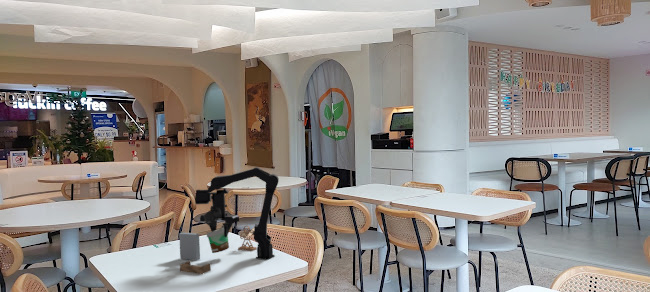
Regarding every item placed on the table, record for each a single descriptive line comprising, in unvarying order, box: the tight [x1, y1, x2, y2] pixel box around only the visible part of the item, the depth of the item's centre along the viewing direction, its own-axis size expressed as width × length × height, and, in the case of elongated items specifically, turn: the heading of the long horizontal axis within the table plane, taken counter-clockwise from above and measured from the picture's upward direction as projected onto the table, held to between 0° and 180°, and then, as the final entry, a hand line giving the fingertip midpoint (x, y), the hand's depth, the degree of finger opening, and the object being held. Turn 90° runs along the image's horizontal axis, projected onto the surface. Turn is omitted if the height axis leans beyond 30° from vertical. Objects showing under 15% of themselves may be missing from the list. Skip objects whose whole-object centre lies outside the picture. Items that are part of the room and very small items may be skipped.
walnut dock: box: [179, 260, 212, 275], centre depth 198 cm, size 12×6×3 cm, turn 65°
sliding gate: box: [178, 232, 201, 261], centre depth 217 cm, size 10×2×12 cm, turn 65°
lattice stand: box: [238, 225, 257, 252], centre depth 232 cm, size 9×4×12 cm, turn 64°
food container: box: [206, 225, 230, 254], centre depth 214 cm, size 12×6×10 cm, turn 156°
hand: (220, 236), depth 214 cm, fingers closed on food container, 6 cm apart
